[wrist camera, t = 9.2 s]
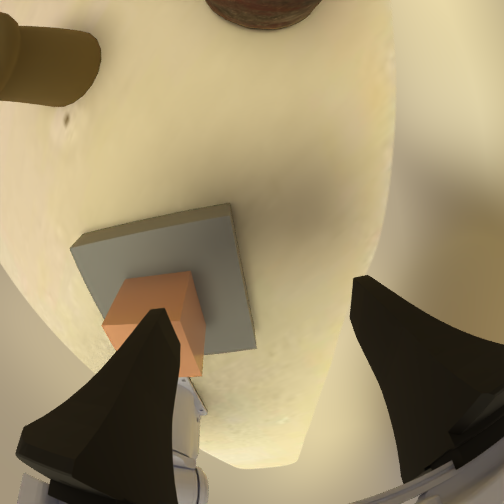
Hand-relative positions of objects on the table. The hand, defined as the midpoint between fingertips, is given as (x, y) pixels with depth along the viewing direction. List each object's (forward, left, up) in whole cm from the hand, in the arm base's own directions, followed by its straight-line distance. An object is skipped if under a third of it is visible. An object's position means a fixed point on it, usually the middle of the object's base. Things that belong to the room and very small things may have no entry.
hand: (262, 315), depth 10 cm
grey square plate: (-5, +7, -11) cm, 14 cm away
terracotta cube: (-5, +7, -8) cm, 12 cm away
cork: (+14, +11, -11) cm, 21 cm away
